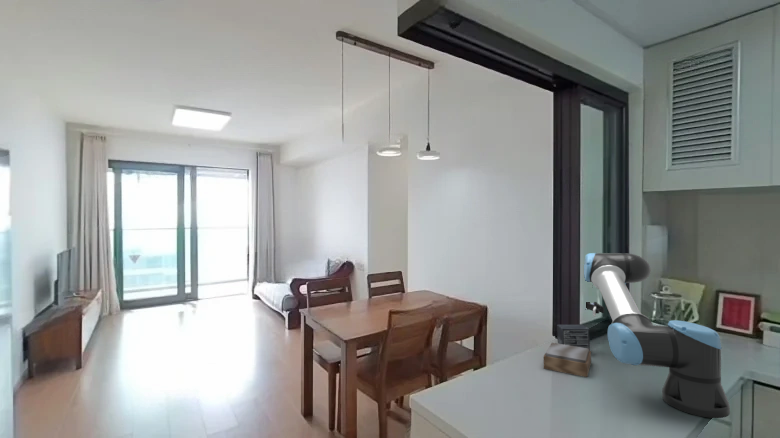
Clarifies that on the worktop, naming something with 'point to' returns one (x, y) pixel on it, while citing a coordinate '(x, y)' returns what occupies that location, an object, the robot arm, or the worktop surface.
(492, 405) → the worktop surface
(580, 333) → the small box
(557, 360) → the base
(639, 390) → the worktop surface
